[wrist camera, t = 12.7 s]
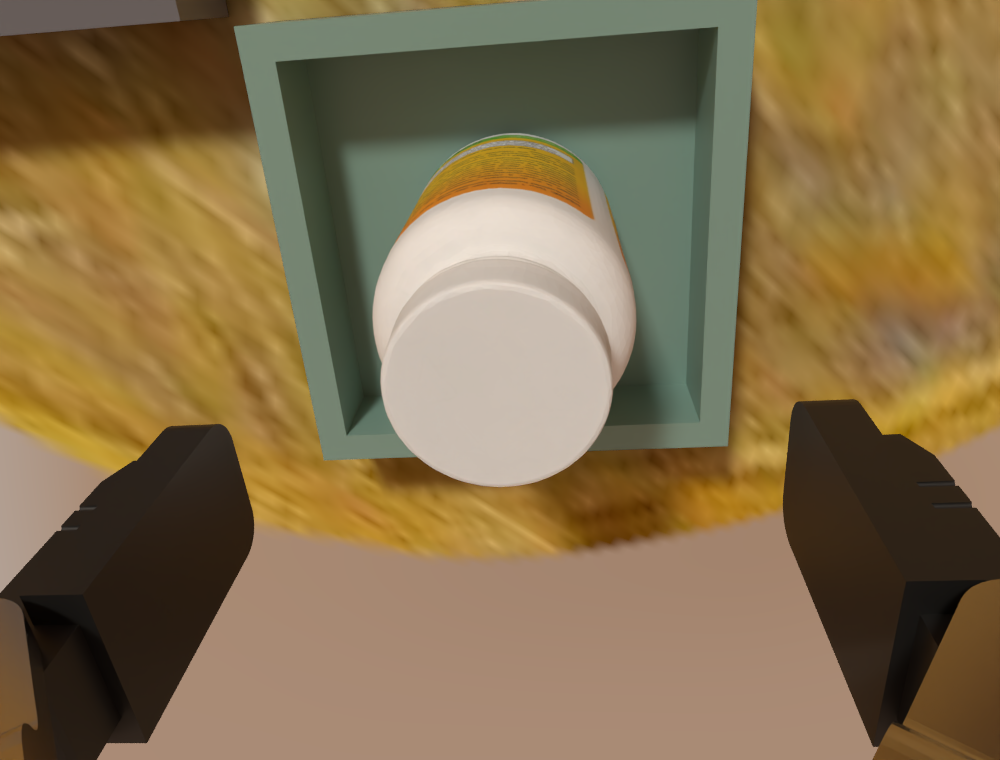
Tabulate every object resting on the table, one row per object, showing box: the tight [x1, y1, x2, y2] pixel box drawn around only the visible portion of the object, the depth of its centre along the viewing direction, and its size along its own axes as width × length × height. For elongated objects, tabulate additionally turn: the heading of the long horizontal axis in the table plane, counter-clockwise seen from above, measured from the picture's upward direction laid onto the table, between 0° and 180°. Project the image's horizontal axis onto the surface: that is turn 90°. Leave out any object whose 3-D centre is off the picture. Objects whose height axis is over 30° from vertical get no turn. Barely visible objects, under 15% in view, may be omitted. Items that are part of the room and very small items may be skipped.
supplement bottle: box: [372, 133, 636, 487], centre depth 17 cm, size 5×5×10 cm
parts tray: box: [234, 0, 757, 460], centre depth 21 cm, size 12×12×3 cm
